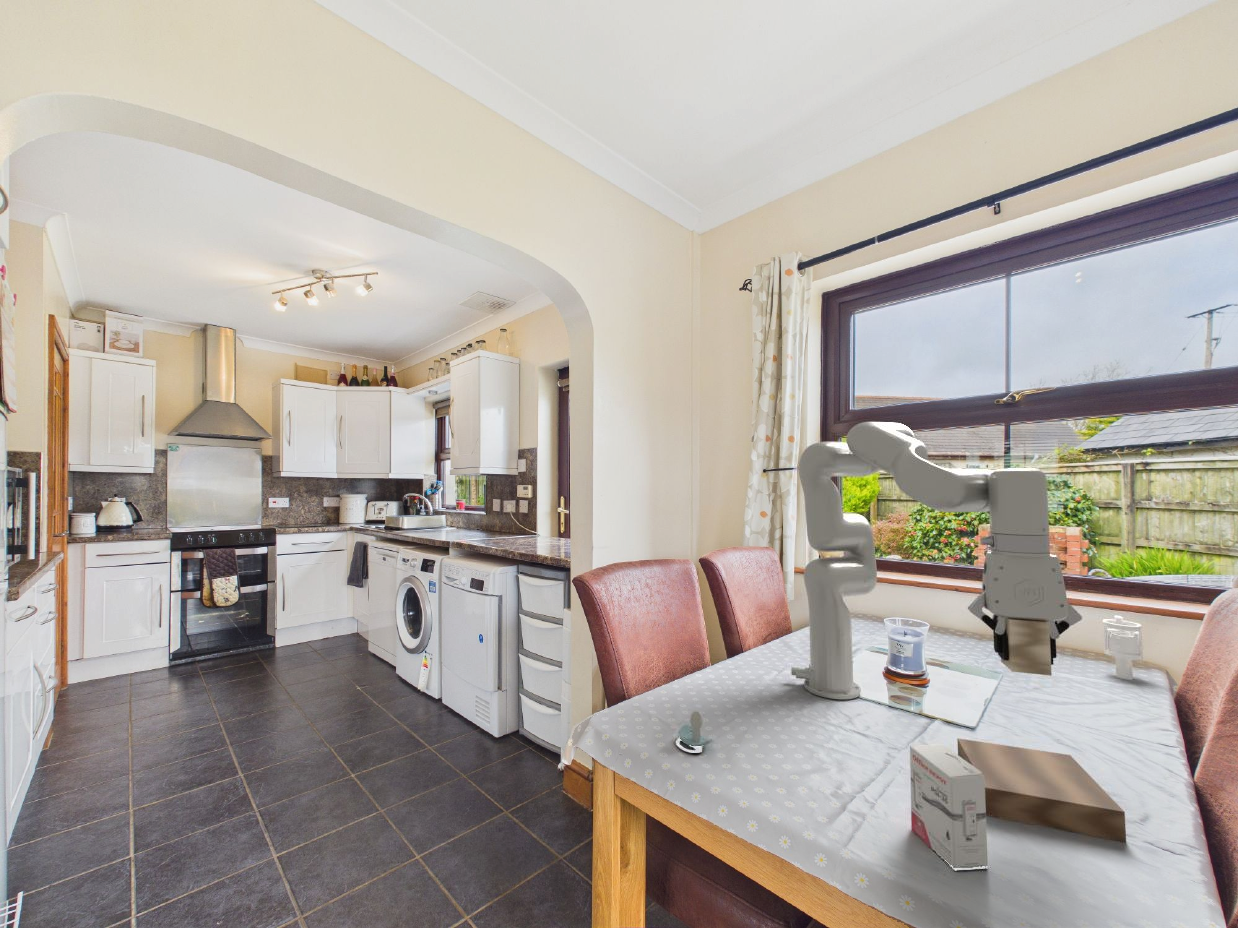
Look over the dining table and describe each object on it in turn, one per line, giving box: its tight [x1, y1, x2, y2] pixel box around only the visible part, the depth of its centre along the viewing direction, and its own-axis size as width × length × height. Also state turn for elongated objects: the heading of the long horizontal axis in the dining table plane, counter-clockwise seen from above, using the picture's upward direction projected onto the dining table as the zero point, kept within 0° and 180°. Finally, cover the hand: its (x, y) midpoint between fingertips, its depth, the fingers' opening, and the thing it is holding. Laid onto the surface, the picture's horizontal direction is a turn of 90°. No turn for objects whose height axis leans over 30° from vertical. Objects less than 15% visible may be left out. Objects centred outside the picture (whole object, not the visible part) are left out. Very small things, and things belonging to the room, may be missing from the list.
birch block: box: [1000, 618, 1052, 676], centre depth 81 cm, size 5×5×8 cm
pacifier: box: [678, 710, 714, 746], centre depth 96 cm, size 7×6×6 cm
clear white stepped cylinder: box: [1102, 615, 1144, 681], centre depth 130 cm, size 7×7×15 cm
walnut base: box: [956, 737, 1127, 843], centre depth 80 cm, size 16×16×4 cm
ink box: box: [909, 743, 989, 868], centre depth 68 cm, size 9×5×12 cm, turn 5°
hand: (1024, 658), depth 81 cm, fingers closed on birch block, 5 cm apart
